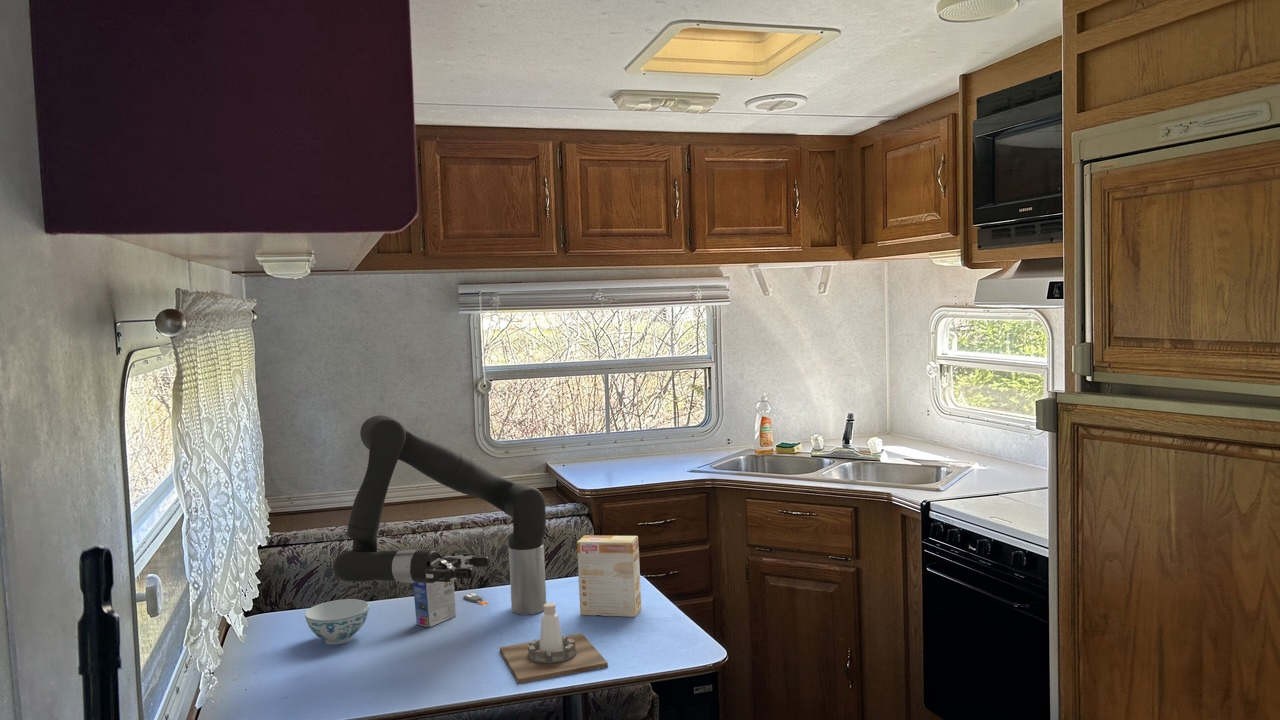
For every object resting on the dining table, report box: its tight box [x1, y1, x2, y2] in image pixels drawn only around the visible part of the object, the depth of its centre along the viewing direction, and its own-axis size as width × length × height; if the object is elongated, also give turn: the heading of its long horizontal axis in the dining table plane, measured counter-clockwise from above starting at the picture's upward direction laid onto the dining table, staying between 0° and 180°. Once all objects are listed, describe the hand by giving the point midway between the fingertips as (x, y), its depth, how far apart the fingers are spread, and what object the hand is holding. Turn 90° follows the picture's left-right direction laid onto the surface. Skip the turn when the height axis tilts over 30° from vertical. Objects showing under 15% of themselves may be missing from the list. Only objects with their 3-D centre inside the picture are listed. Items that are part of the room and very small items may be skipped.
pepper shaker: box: [540, 602, 564, 656], centre depth 201 cm, size 5×5×11 cm
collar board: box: [499, 632, 609, 684], centre depth 201 cm, size 20×20×4 cm
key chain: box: [462, 593, 489, 607], centre depth 244 cm, size 13×4×2 cm, turn 42°
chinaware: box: [304, 598, 370, 646], centre depth 219 cm, size 15×15×8 cm
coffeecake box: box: [576, 535, 642, 618], centre depth 231 cm, size 15×7×20 cm, turn 77°
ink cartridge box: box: [412, 579, 457, 628], centre depth 230 cm, size 10×6×14 cm, turn 148°
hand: (480, 567), depth 203 cm, fingers open, 8 cm apart
